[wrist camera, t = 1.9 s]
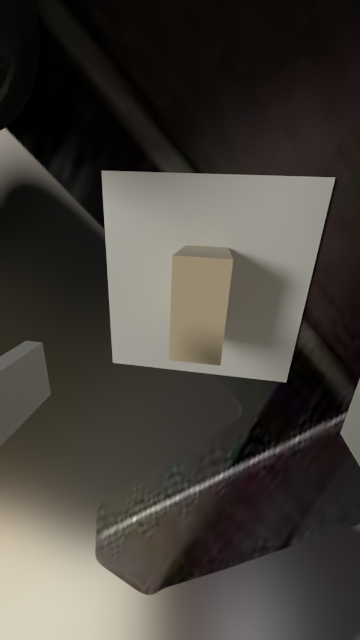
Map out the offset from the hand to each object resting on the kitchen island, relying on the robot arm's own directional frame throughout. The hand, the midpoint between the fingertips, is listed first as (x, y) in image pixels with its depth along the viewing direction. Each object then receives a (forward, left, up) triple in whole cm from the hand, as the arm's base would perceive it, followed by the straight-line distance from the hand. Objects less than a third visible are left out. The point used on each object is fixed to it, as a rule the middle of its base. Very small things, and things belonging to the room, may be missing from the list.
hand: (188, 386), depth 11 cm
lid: (0, 0, -17) cm, 17 cm away
